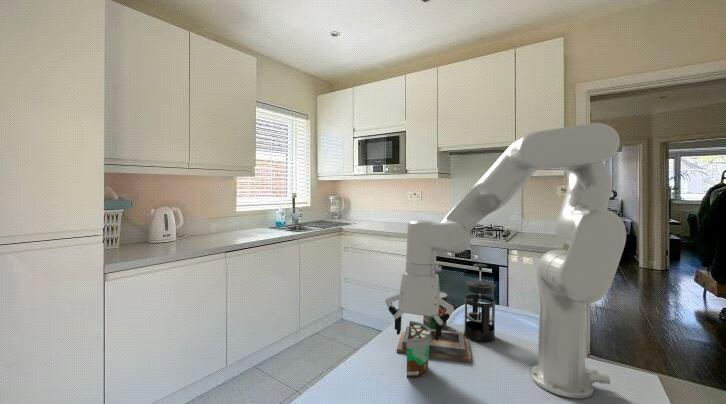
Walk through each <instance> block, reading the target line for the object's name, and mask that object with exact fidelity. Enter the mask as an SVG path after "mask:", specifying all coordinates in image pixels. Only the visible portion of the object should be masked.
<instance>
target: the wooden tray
mask: <svg viewBox="0 0 726 404" xmlns="http://www.w3.org/2000/svg"><path fill="white" fill-rule="evenodd" d="M430 331H431V334H432V339H433V340H432V343H431V344H430V346H429V357H430V358H436V359H442V360H449V361H450V360H451V361H459V362H466V363H467V362H468V363H472V356H471V351H470V345H469V339H467V338H464V332H459V331H450V330H449V331H448V330H441V336H438V341H437V340H435V332H436V330H434V329H430ZM408 335H409V326H406V328H405V331H402V330H401V332H400V337H399V340H398V343H397V345H396V353H398V352H399V353H400V354H405V353H407V339H408Z"/></svg>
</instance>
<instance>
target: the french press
mask: <svg viewBox="0 0 726 404" xmlns="http://www.w3.org/2000/svg"><path fill="white" fill-rule="evenodd" d="M473 266H474V267H477V268H478V272H479V279H469V280H466V281H465V285H466V290H467V291H468V292H469V293H473V294H468V295H465V297H464V331H463V337H465V339H468V341H469V340H470V341H472V342H475V343H481V344H490V343H493V342H495V340H496V336H495V332H496V331H495V316H496V315H495V311H496V299H495V298H493V297H490V296H487V295H490V294H494V291H495V290H494V289H495V288H496V284H495V283H493V282H491V281H487V280H482V271H483V268H487V267H488V265H487V264H483V263H474V264H473ZM471 299H472V300H471ZM481 300H485V301H488V302H490V303H487V302H486V303H482V302H481ZM468 306H471V307H472V311H468ZM490 309H491V310H490ZM490 313H491V314H490Z"/></svg>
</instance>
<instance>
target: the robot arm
mask: <svg viewBox="0 0 726 404" xmlns="http://www.w3.org/2000/svg"><path fill="white" fill-rule="evenodd" d="M619 135H620V134H618V132H617V131H616V129H615V128H613V126H610V125H609V124H606V123H600V122H592V123H585V124H584V123H583V124H579V125H577V124H576V125H570V126H565V127H559V128H553V129H551V128H550V129H545V130H538V131H533V132H529V133H528V134H525V135H524V136H522V137H519V138H518V139H516V140H515V141H513V142H512V143H511V144H510V145H509V146H508V147H507V148H506V149H505V150H504V152H503V153H502V154H501V155H500V156H499V157H498V158H497V160H496V161H495V162H494V163H493V164H492V165H491V166H490V167H489V168H488V170H487V171H486V172H485V173H484V174H483V176H482V177H480V179H478V181H477V182H476V183H475V184H474V185H473V186H472V188H470V190H469V191H468V192H467V193H466V194H465V195H464V197H462V199H460V201H459V202H458V203H456V205H455V206H454V207H453V208H452V209H451V211H449V212H448V213H447V215H446V216H445V217H444V218H443V219H442V221H440V223H436V222H434V221H432V220H423V219H422V220H421V219H418V220H416V219H414V220H411V221H409V222H408V225H407V228H406V229H407V231H406V234H407V235H406V250H405V251H406V256H405V271H402V275H401V280H400V286H399V292H398V293H396V294H394V295H391V296H389V297H386V299H385V300H384V302H385V304H386V307H387V308H388V311H389V313H390V314H391V315H392V316H393V318H394V330H395V331H396V335H397V336H399V335H401V332H402V315H403V314H404V313H405V314H410V315H418V316H423V315H424V316H433V317H434V318H435V320H436V332H435V340H437V341H438V336H441V328H442V324H443V323H444V322H445V321H446V320H447V321H448V320H449V319H450V317H451V315H453V312H454V311H455V307H454V306H453V305H452V304H450V303H449V302H448V301H447V302H446V301H444V300H443V299H441V298H440V290H441V289H440V279H439V275H438V274H437V273H439V272H442V267H443V266H441V265H438V264H437V251H440V252H444V253H445V252H446V253H450V254H459V253H463V252H465V251H466V250H468V249H469V246H470V245H471V242H472V235H471V232H472V230H473V229H474V228H475V227H476V225H477V224H479V223H480V222H481V221H482V220H483V219H484V218H486V217H487V216H488V215H490V214H492V213H494V212H497V211H498V210H500V209H501V208H503V207H504V206H506V205H507V204H508V203H509V202H510V201H511V200H512V198H514V196H515V195H516V194H517V193H518V191H520V189H521V188H522V187H523V186H524V185H525V184H526V183H527V182H528V181H529V179H530V178H531V177H532V176H533V175H535V173H536V172H537V171H541V170H549V169H561V168H562V169H563V171H564V173H565V174H566V178H567V185H566V191H565V194H564V197H563V201H562V204H561V208H560V210H559V212H558V215H557V219H556V221H555V226H554V232H555V235H556V238H557V239H558V240H559V241H560V242H562V243H563V244H565V245H568V246H569V248H568V250H564V249H553V250H549V251H547V252H545V253H544V254H543V255H542V256H541V257H540V258H539V260H538V262H537V266H536V277H537V285H538V296H539V301H538V302H539V303H538V304H539V305H538V306H539V308H538V309H539V310H538V311H539V312H538V346H537V347H538V349H537V350H538V351H537V353H538V354H537V360H538V361H537V364H536V365H534V366H532V367H531V368H530V377H531V379H532V380H533V381H534V383H536V385H538V386H539V387H541V388H542V389H544V390H546V391H548V392H549V393H553V394H555V395H558V396H561V397H563V398H565V397H566V398H570V399H586V398H589V397H591V396H592V395H593V394H594V385H593V384H595V383H600V384H605V385H610V384H611V378H610V375H609V374H603V373H599V372H598V369H594V368H587V367H586V351H587V350H586V349H587V348H586V347H587V346H586V345H587V319H588V317H587V316H588V314H587V305H588V304H589V305H590V304H594V303H597V302H599V301H600V300H602V299H603V298H604V297H605V296H606V295H607V293H608V292H609V290H610V289H611V286H612V284H613V281H614V278H615V275H616V273H617V269H618V268H619V265H620V264H619V263H620V262H621V258H622V255H623V253H624V248H625V246H626V242H627V230H626V226H625V224H624V221H623V220H622V218H621V217H620V216H619V215H618V214H616V213H615V212H613V211H611V210H609V209H608V205H609V201H610V198H611V193H612V186H613V185H612V184H613V182H612V176H611V173H610V171H609V169H608V166H607V165H606V163H605V162H606V161H607V160H609V159H611V158H612V157H614V155H615V154H616V153H617V152H618V150H619V148H620V145H621V142H620V136H619ZM397 301H398V308H396V306H394V305H393V303H395V302H397ZM586 304H587V305H586ZM439 305H441V306H443V307H444V308H446V309H447V311H446V312H445V313H444V314H443V315H442V316H441V315H440V313H439Z"/></svg>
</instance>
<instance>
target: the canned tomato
mask: <svg viewBox="0 0 726 404" xmlns="http://www.w3.org/2000/svg"><path fill="white" fill-rule="evenodd" d="M440 298H441V299H443V300H444V301H446V302H447V303H448V294H447V293H446V292H444V291H440ZM446 311H447V309H446V308H444V307H443V306H441V305H439V313H440V315H441V316H442V315H443V314H444V313H445V312H446ZM422 316H423V319H422V320H423V321H422V324H424V325H426V326H427V327H428V328H429V329H434V330H436V320H435V318H434V317H433V316H424V315H422ZM447 322H448V320H446V321H445V322H444V323H443V324H442V328H441V330H443V331H445V330H446V329H447V327H448V326H447Z"/></svg>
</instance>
